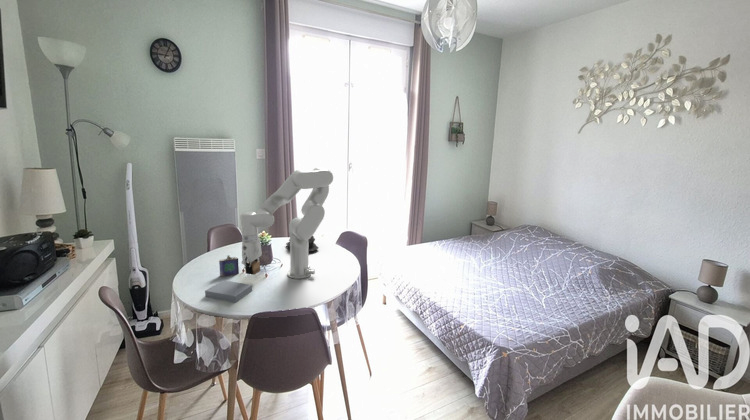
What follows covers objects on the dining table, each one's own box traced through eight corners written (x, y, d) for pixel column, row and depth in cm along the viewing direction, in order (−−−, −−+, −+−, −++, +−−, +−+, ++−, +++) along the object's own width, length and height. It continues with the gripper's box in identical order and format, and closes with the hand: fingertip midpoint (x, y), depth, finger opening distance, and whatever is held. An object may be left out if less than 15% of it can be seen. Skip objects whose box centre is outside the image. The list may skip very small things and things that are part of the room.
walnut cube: (260, 270, 164) (259, 261, 163) (254, 274, 160) (253, 265, 159) (251, 269, 166) (250, 260, 164) (245, 273, 161) (244, 264, 160)
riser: (252, 290, 154) (252, 284, 154) (235, 302, 143) (235, 296, 142) (223, 285, 158) (223, 280, 157) (205, 296, 147) (205, 290, 146)
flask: (220, 277, 167) (219, 257, 165) (219, 275, 170) (218, 255, 168) (239, 274, 172) (238, 255, 170) (238, 272, 174) (237, 253, 172)
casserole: (325, 250, 216) (325, 238, 214) (302, 256, 202) (302, 243, 200) (301, 241, 231) (301, 230, 230) (279, 247, 217) (279, 235, 216)
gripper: (246, 243, 149) (249, 279, 154) (266, 232, 166) (268, 265, 170) (232, 241, 151) (235, 277, 155) (253, 231, 167) (256, 264, 172)
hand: (252, 271), depth 163 cm, fingers closed on walnut cube, 5 cm apart
